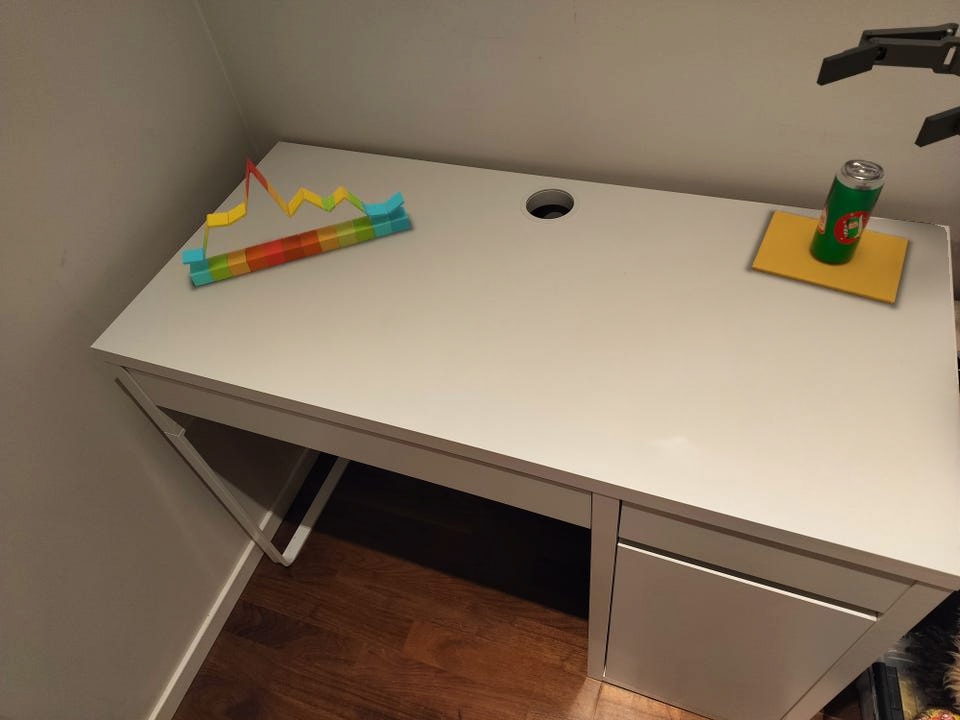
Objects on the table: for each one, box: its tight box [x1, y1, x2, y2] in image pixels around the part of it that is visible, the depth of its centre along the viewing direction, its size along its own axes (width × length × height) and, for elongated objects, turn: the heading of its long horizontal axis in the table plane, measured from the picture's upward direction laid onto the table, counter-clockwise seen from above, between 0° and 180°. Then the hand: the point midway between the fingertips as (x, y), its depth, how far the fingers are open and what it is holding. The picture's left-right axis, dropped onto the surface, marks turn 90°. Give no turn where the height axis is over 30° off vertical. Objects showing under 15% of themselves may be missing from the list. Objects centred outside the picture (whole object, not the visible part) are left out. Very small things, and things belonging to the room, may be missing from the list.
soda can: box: [810, 158, 886, 264], centre depth 79 cm, size 5×5×12 cm
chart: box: [181, 157, 411, 287], centre depth 89 cm, size 30×3×15 cm, turn 107°
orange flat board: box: [751, 210, 909, 305], centre depth 84 cm, size 16×12×1 cm
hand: (869, 100), depth 66 cm, fingers open, 13 cm apart
